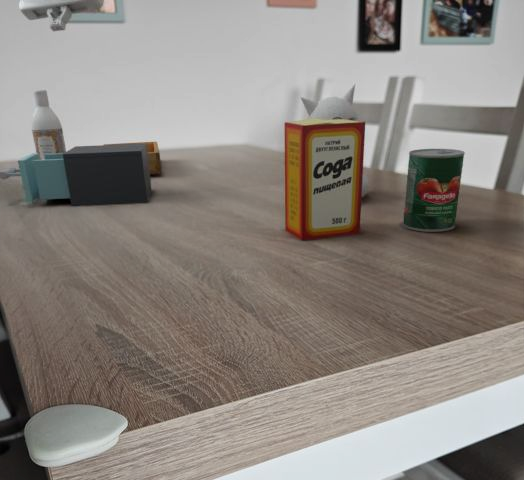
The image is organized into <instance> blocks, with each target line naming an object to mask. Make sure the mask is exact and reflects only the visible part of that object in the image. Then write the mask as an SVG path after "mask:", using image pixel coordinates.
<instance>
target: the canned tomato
mask: <svg viewBox="0 0 524 480" xmlns="http://www.w3.org/2000/svg"><path fill="white" fill-rule="evenodd" d="M465 154H466V152H465V151H464V150H461V149H453V148H420V149H413V150H410V151H409V152H408V165H407V176H406V186H405V187H406V188H405V197H404V198H405V199H404V200H405V201H404V208H403V210H404V211H403V221H402V226H403V227H404V228H405V229H407V230H410V231H413V232H414V231H415V232H422V233H442V232H448V231H452V230H453V229H455V227H456V219H457V210H458V205H459V197H460V196H459V195H460V190H461V189H460V188H461V182H462V181H461V180H462V173H463V166H464V157H465Z"/></svg>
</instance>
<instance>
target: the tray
mask: <svg viewBox="0 0 524 480" xmlns="http://www.w3.org/2000/svg"><path fill="white" fill-rule="evenodd" d="M124 144H146V145H147V154H148V163H149V172H150V175H158V174H162V173H163V172H162V163H161V153H160V148H159V145H158V141H141V142H123V143H121V142H120V143H104V144H103V145H124Z"/></svg>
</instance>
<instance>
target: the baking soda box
mask: <svg viewBox="0 0 524 480" xmlns="http://www.w3.org/2000/svg"><path fill="white" fill-rule="evenodd" d="M365 138H366V121H361V120H358V121H354V120H346V119H335V120H321V119H317V118H314V119H301V120H294V121H285V122H284V208H285V209H284V210H285V211H284V212H285V213H284V216H285V217H284V220H285V223H284V224H285V228H284V229H285V231H286V232H287V233H289V234H291V235H293V236H294V237H295V238H297V239H298V240H300V241H308V240H316V239H324V238H325V239H326V238H332V237H339V236H348V235H357V234H360V233H361V216H362V214H361V213H362V198H363V197H362V178H363V173H364V159H365V158H364V157H365V140H366V139H365ZM361 197H362V198H361Z"/></svg>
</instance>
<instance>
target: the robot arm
mask: <svg viewBox="0 0 524 480" xmlns="http://www.w3.org/2000/svg"><path fill="white" fill-rule="evenodd" d="M104 1H105V0H19V2H18V9H19V11H20V13H22V15H23V16H24V17H26V19H27V20H29V21H34V20H43V19H49V28H50V29H51V31H52V32H61V31H66V26H67V24H68V23H69V21H70V19H72V17H73V15H74V14H75V15H76V14H80V13H81V14H82V13H88V12H93V11H100V10H101V8H102V7H103V6H104Z"/></svg>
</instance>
